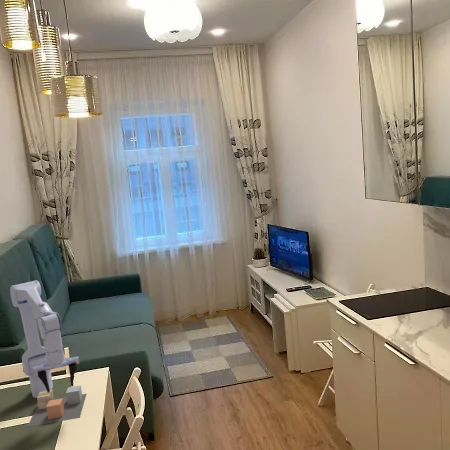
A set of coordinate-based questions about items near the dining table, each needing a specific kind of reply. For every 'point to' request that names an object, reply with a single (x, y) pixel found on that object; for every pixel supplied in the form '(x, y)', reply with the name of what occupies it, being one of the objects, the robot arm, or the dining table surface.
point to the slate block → (74, 395)
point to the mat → (69, 413)
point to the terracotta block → (55, 408)
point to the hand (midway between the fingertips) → (60, 388)
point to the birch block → (44, 399)
